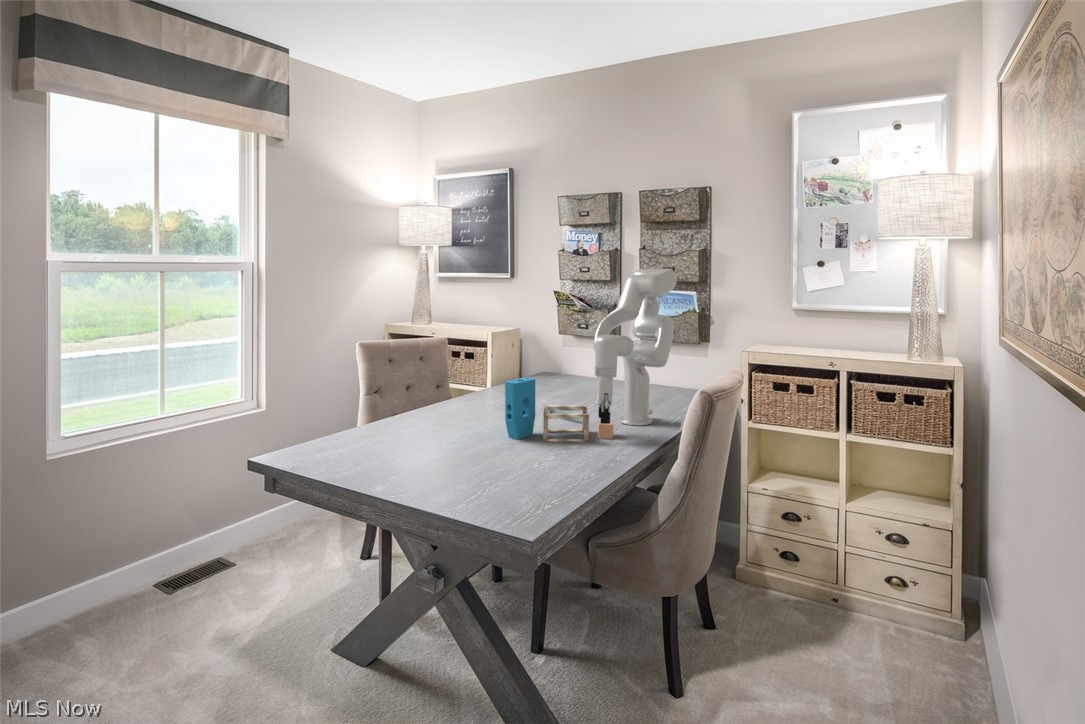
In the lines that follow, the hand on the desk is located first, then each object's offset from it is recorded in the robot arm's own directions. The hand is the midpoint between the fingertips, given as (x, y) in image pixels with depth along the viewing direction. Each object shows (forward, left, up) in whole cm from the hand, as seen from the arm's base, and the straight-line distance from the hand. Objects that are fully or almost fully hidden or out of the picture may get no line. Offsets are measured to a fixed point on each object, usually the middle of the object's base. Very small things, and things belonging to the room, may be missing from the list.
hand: (604, 420), depth 224 cm
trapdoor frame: (+8, -11, -6) cm, 15 cm away
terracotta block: (-1, 0, -6) cm, 6 cm away
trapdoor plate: (+8, -11, +1) cm, 14 cm away
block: (+18, -23, -6) cm, 30 cm away
